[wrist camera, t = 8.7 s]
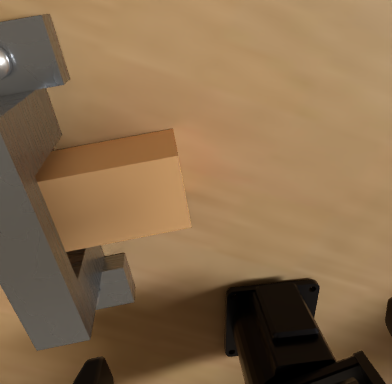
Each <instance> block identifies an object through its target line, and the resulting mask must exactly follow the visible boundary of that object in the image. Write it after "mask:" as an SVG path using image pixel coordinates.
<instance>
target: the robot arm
mask: <svg viewBox="0 0 392 384" xmlns="http://www.w3.org/2000/svg"><path fill="white" fill-rule="evenodd" d="M310 287H311V288H310ZM319 289H320V288H319V285H318V283H317V282H316V281H315V280H303V281H293V282H283V283H273V284H263V285H253V286H243V287H233V288H230V289H228V290H227V291H226V301H225V343H224V349H225V353H226V355H227V356H229V357H232V356H239V360H240V364H241V368H242V372H243V376H244V380H245V384H386V383H385V382H384V381H383V379H382V378H381V376H380V375H379V374H378V372H377V371H376V369H375V368H374V367H373V365H372V364H371V363H370V361H369V360H368V358H367V357H366V356H365V354H364V353H363V351H359V352H357V353H354V354H353V356H351V357H348V358H346V359H343V360H340V361H338V362H337V361H336V360H335V358H334V356H333V354H332V352H331V350H330V348H329V346H328V344H327V342H326V340H325V339H324V337H323V335H322V333H321V331H320V329H319V327H318V325H317V323H316V321H315V320H314V316H315V310H316V305H317V300H318V294H319ZM234 294H236V295H234ZM232 295H234V296H232ZM385 322H386V326H387V328H388V330H389V332H390V334H391V336H392V297H391V298H390V299H389V300H388V304H387V311H386V317H385ZM73 384H114V381H113V376H112V374H111V371H110V369H109V367H108V364H107V362H106V360H105V358H104V357H97V358H92V359H89V360H87V361H86V362H85V364H84V366H83V367H82V369H81V371H80V372H79V374H78V375H77V377H76V379H75V380H74V382H73Z"/></svg>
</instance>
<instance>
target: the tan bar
mask: <svg viewBox="0 0 392 384" xmlns="http://www.w3.org/2000/svg"><path fill="white" fill-rule="evenodd" d="M35 178H36V181H37V183H38V186H39V188H40V191H41V193H42V195H43V198H44V200H45V203H46V205H47V208H48V210H49V212H50V215H51V217H52V220H53V222H54V224H55V227H56V229H57V232H58V234H59V237H60V239H61V241H62V244H63V246H64V249H65V251H66V252H69V251H74V250H79V249H84V248H89V247H94V246H99V245H104V244H110V243H115V242H120V241H125V240H130V239H135V238H140V237H145V236H151V235H156V234H161V233H166V232H171V231H176V230H181V229H187V228H192V226H191V220H190V215H189V210H188V205H187V199H186V194H185V189H184V184H183V178H182V173H181V168H180V162H179V157H178V152H177V147H176V142H175V137H174V132H173V129H168V130H163V131H158V132H152V133H147V134H141V135H136V136H131V137H125V138H120V139H114V140H109V141H104V142H98V143H93V144H87V145H82V146H77V147H71V148H66V149H60V150H55V151H51V152H50V154H49V156H48V157H47V159H46V160H45V162H44V163H43V165H42V166H41V168H40V169H39V171H38V172H37V174H36V175H35Z"/></svg>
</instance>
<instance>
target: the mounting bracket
mask: <svg viewBox="0 0 392 384" xmlns="http://www.w3.org/2000/svg"><path fill="white" fill-rule="evenodd" d="M69 79H70V77H69V74H68V70H67V67H66V64H65V61H64V58H63V54H62V51H61V48H60V45H59V42H58V38H57V35H56V32H55V29H54V26H53V22H52V19H51V16H50V14H46V15H39V16H33V17H27V18H21V19H16V20H10V21H4V22H0V285H1V287H2V289H3V290H4V292H5V294H6V296H7V298H8V300H9V301H10V303H11V305H12V307H13V309H14V310H15V312H16V314H17V316H18V318H19V319H20V321H21V323H22V325H23V327H24V328H25V330H26V332H27V334H28V336H29V337H30V339H31V341H32V343H33V345H34V346H35V348H36V350H37V351H38V350H43V349H48V348H53V347H58V346H63V345H67V344H72V343H77V342H82V341H87V340H90V339H91V333H92V327H93V322H94V316H95V310H98V309H103V308H108V307H113V306H118V305H123V304H128V303H133V302H134V300H135V284H134V281H133V278H132V275H131V272H130V268H129V265H128V262H127V259H126V256H125V253H122V254H117V255H112V256H107V257H105V256H104V254H103V251H102V248H101V245H99V246H94V247H89V248H84V249H79V250H74V251H69V252H66V251H65V249H64V246H63V244H62V241H61V239H60V237H59V234H58V232H57V229H56V227H55V224H54V222H53V220H52V217H51V215H50V212H49V210H48V208H47V205H46V203H45V200H44V198H43V195H42V193H41V191H40V188H39V186H38V183H37V181H36V178H35V175H36V174H37V172H38V171H39V169H40V168H41V166H42V165H43V163H44V162H45V160H46V159H47V157H48V156H49V154H50V152H51V151H52V149H53V148H54V146H55V145H56V143H57V142H58V140H59V139H60V137H61V136H62V133H61V130H60V128H59V125H58V122H57V119H56V116H55V113H54V110H53V108H52V105H51V102H50V99H49V96H48V93H47V90H46V88H48V87H54V86H59V85H64V84H65V83H66V82H67V81H68V80H69Z"/></svg>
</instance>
